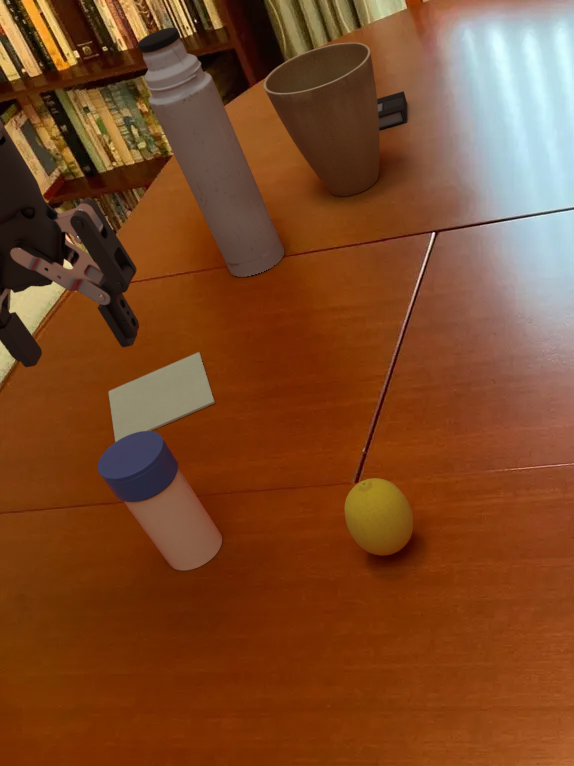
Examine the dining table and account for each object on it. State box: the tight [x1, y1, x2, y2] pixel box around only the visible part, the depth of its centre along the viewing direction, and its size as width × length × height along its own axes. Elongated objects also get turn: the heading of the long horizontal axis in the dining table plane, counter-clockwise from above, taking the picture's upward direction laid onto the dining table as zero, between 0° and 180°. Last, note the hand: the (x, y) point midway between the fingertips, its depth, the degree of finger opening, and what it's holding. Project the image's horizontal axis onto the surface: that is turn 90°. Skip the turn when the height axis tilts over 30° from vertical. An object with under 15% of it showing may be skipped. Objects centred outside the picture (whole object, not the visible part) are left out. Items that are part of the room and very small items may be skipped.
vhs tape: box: [377, 91, 408, 131], centre depth 141 cm, size 8×14×2 cm, turn 91°
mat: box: [108, 351, 216, 443], centre depth 103 cm, size 12×12×1 cm
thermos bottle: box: [137, 26, 285, 278], centre depth 110 cm, size 8×8×28 cm
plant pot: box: [262, 41, 380, 197], centre depth 122 cm, size 15×15×16 cm
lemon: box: [343, 477, 414, 556], centre depth 74 cm, size 6×6×8 cm
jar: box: [122, 467, 223, 572], centre depth 80 cm, size 6×6×12 cm
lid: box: [97, 430, 179, 502], centre depth 76 cm, size 6×6×3 cm
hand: (82, 350), depth 69 cm, fingers open, 8 cm apart
